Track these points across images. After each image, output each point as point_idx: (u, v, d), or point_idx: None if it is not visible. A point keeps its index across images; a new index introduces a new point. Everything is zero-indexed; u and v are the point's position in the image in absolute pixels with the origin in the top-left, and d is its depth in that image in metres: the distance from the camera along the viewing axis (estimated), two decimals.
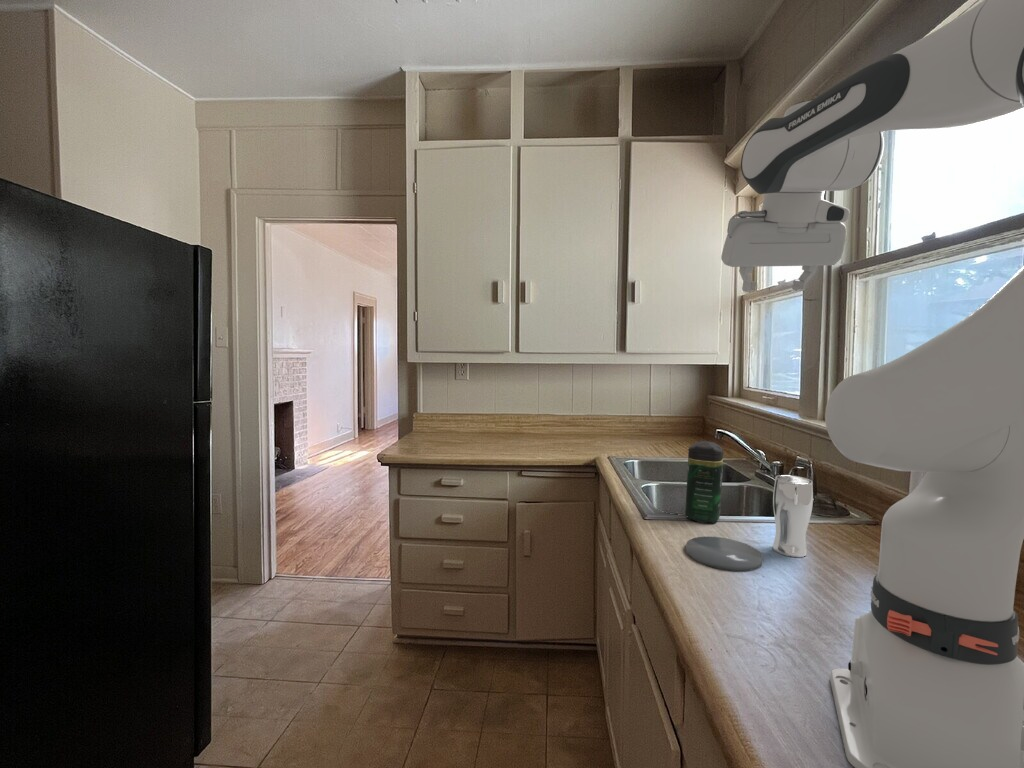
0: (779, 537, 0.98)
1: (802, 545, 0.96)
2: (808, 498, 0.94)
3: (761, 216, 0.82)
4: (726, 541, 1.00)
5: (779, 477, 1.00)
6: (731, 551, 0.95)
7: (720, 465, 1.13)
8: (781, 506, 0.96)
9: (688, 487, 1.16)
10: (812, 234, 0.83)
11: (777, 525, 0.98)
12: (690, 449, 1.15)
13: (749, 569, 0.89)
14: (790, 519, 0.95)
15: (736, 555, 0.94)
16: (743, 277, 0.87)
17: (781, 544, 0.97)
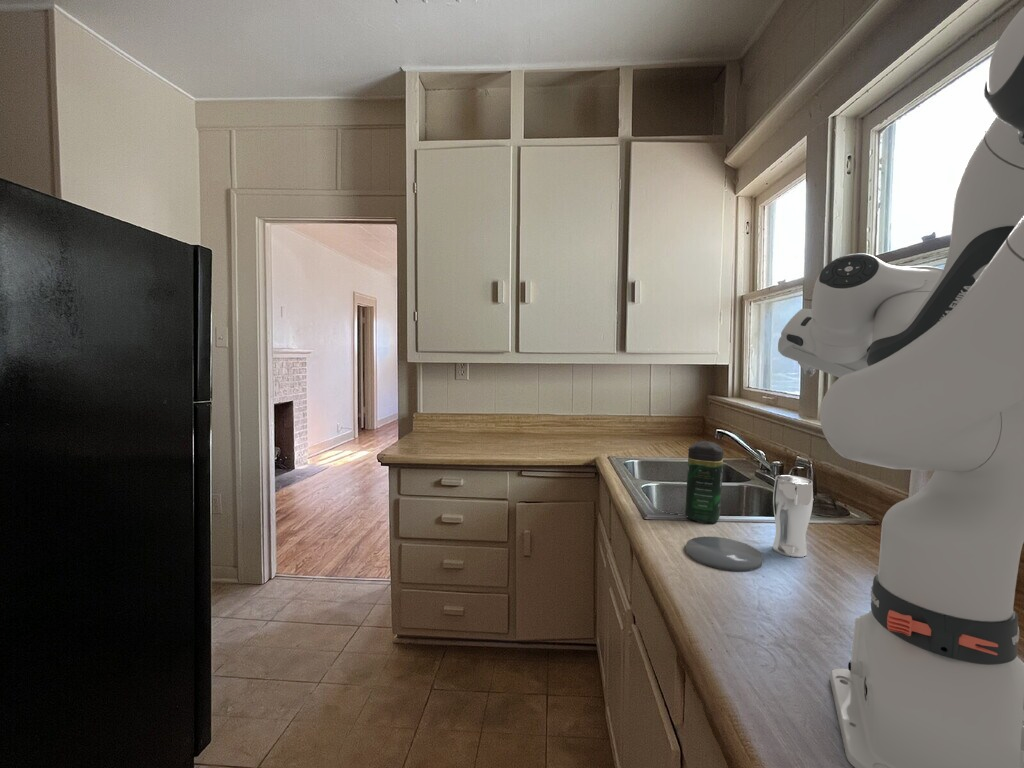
0: (779, 537, 0.98)
1: (802, 545, 0.96)
2: (808, 498, 0.94)
3: None
4: (726, 541, 1.00)
5: (779, 477, 1.00)
6: (731, 551, 0.95)
7: (720, 465, 1.13)
8: (781, 506, 0.96)
9: (688, 487, 1.16)
10: None
11: (777, 525, 0.98)
12: (690, 449, 1.15)
13: (749, 569, 0.89)
14: (790, 519, 0.95)
15: (736, 555, 0.94)
16: None
17: (781, 544, 0.97)
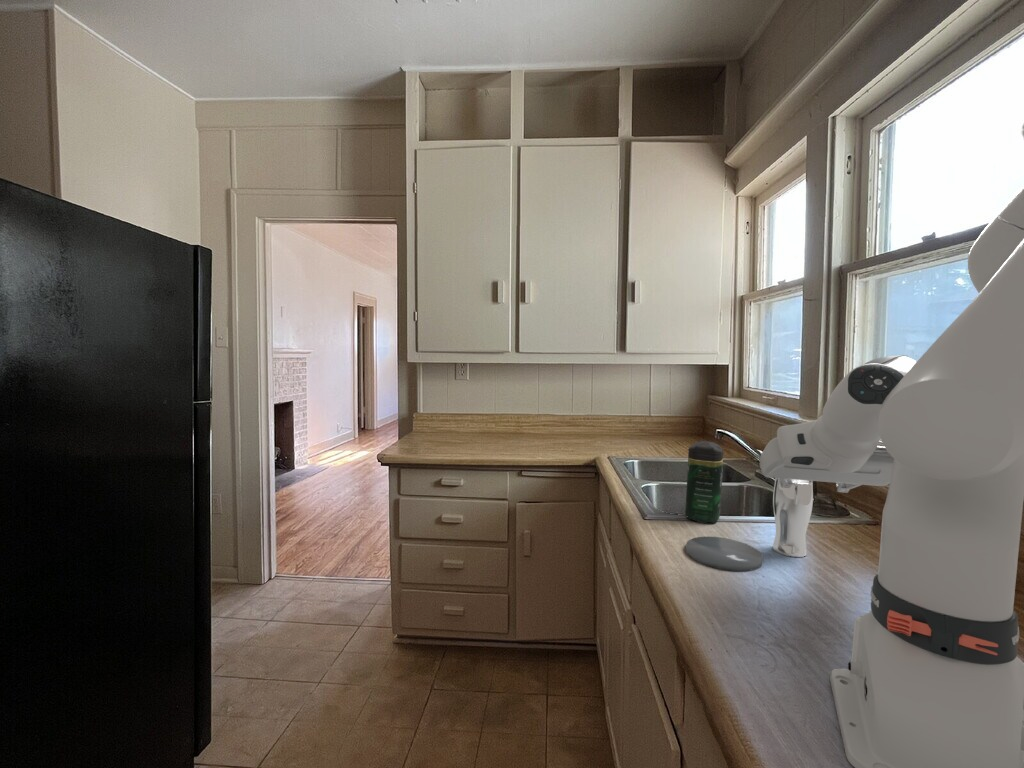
0: (779, 537, 0.98)
1: (802, 545, 0.96)
2: (808, 498, 0.94)
3: None
4: (726, 541, 1.00)
5: None
6: (731, 551, 0.95)
7: (720, 465, 1.13)
8: (781, 506, 0.96)
9: (688, 487, 1.16)
10: None
11: (777, 525, 0.98)
12: (690, 449, 1.15)
13: (749, 569, 0.89)
14: (790, 519, 0.95)
15: (736, 555, 0.94)
16: None
17: (781, 544, 0.97)
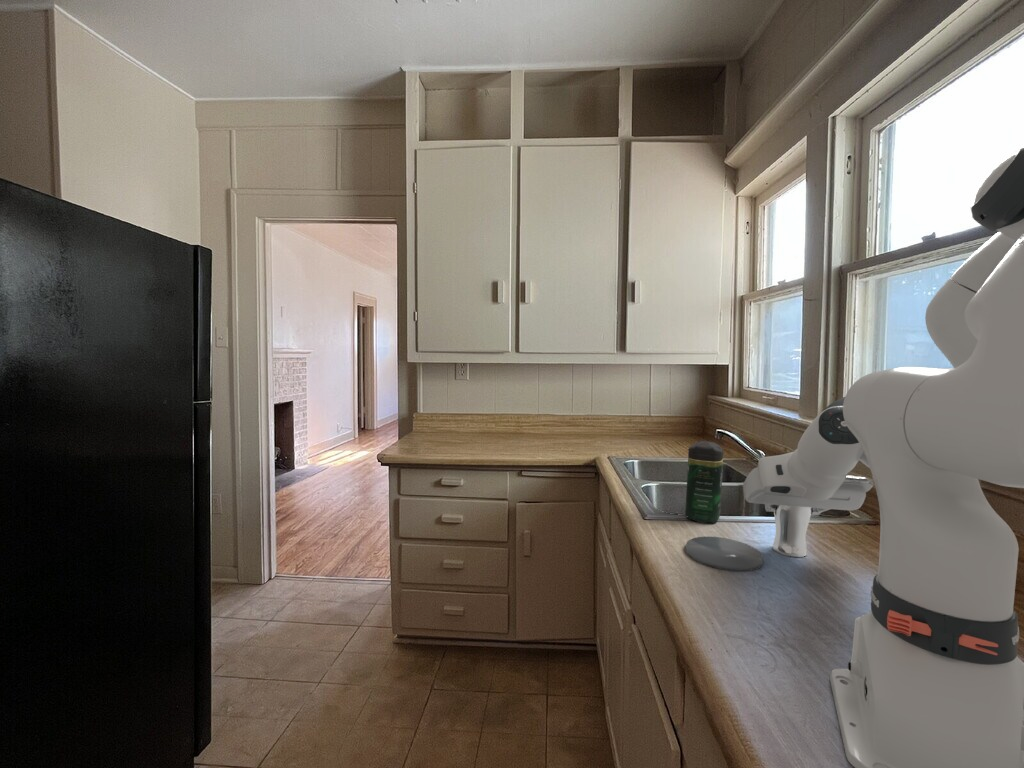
0: (779, 537, 0.98)
1: (802, 545, 0.96)
2: None
3: None
4: (726, 541, 1.00)
5: None
6: (731, 551, 0.95)
7: (720, 465, 1.13)
8: (781, 506, 0.96)
9: (688, 487, 1.16)
10: None
11: (777, 525, 0.98)
12: (690, 449, 1.15)
13: (749, 569, 0.89)
14: (790, 519, 0.95)
15: (736, 555, 0.94)
16: None
17: (781, 544, 0.97)
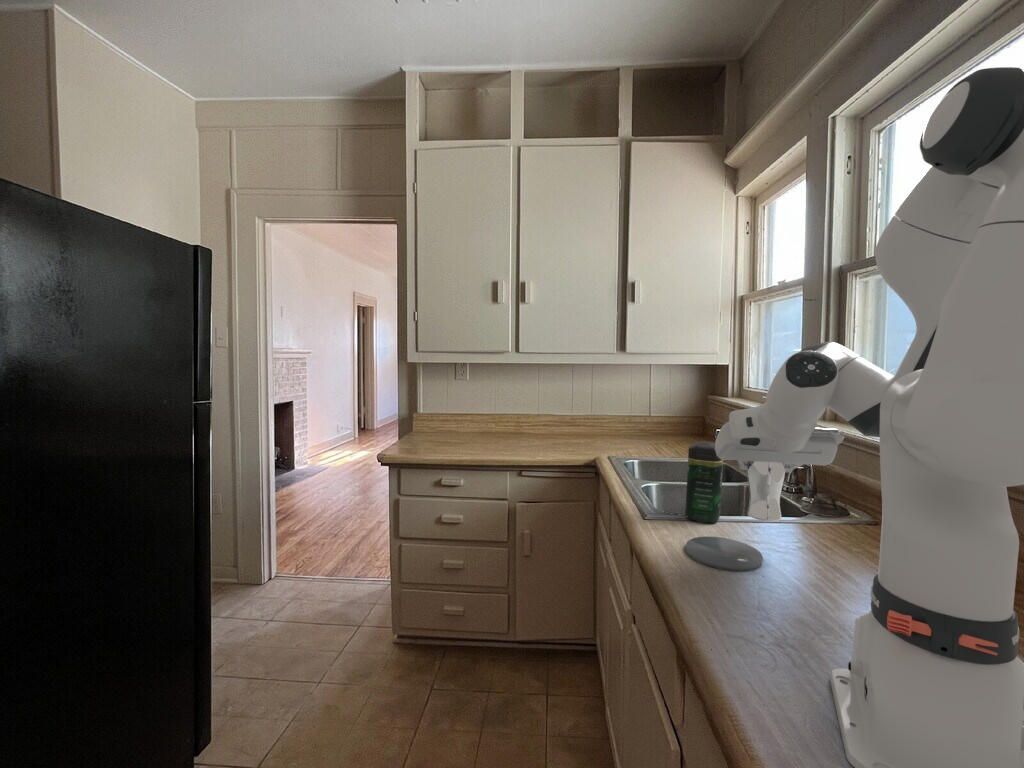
0: (752, 501, 0.95)
1: (775, 509, 0.93)
2: None
3: None
4: (726, 541, 1.00)
5: None
6: (731, 551, 0.95)
7: (720, 465, 1.13)
8: (753, 468, 0.95)
9: (688, 487, 1.16)
10: None
11: (750, 489, 0.96)
12: (690, 449, 1.15)
13: (749, 569, 0.89)
14: (762, 481, 0.94)
15: (736, 555, 0.94)
16: None
17: (754, 508, 0.95)
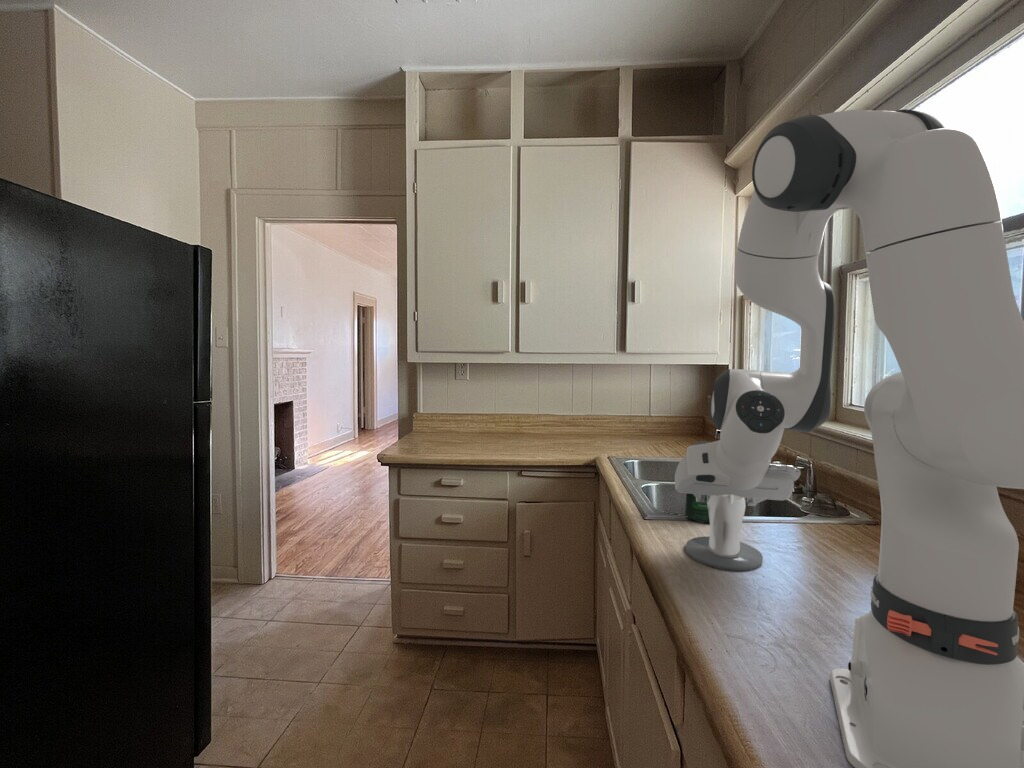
0: (712, 537, 0.94)
1: (735, 545, 0.92)
2: (739, 497, 0.90)
3: None
4: None
5: None
6: None
7: None
8: (712, 506, 0.93)
9: None
10: None
11: (710, 525, 0.95)
12: None
13: (749, 569, 0.89)
14: (721, 519, 0.92)
15: None
16: None
17: (714, 544, 0.94)
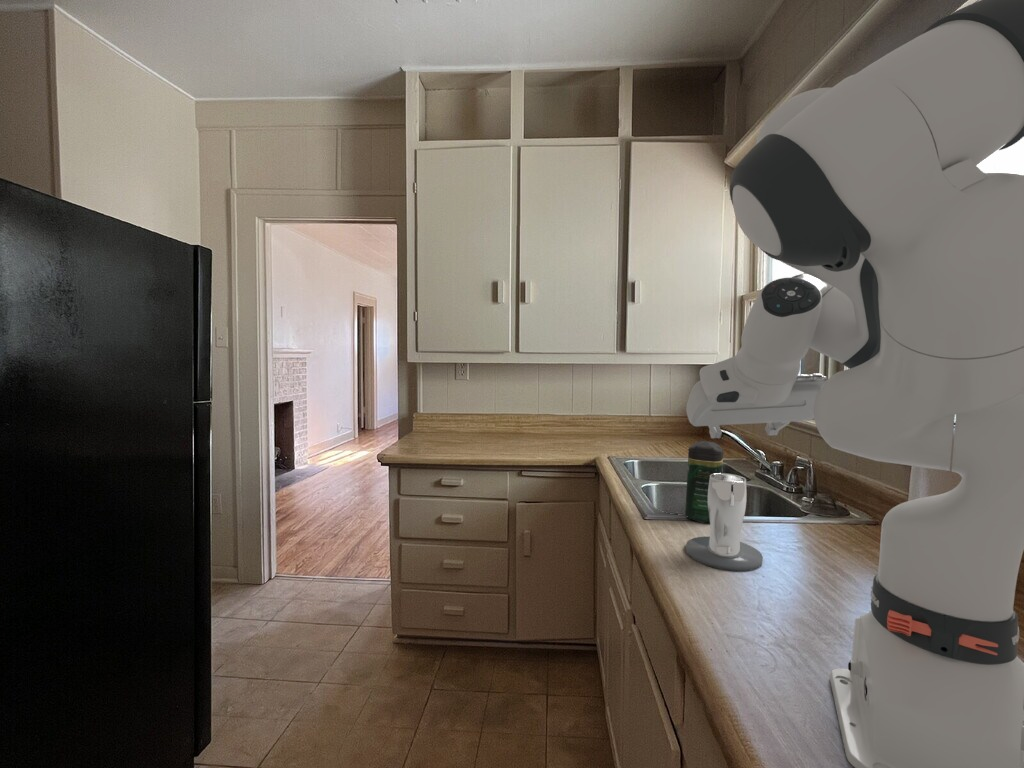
0: (712, 537, 0.94)
1: (735, 546, 0.92)
2: (740, 497, 0.91)
3: None
4: None
5: (715, 475, 0.97)
6: None
7: (720, 465, 1.13)
8: (713, 505, 0.93)
9: (688, 487, 1.16)
10: None
11: (711, 525, 0.95)
12: (690, 449, 1.15)
13: (749, 569, 0.89)
14: (722, 518, 0.92)
15: None
16: None
17: (714, 544, 0.94)
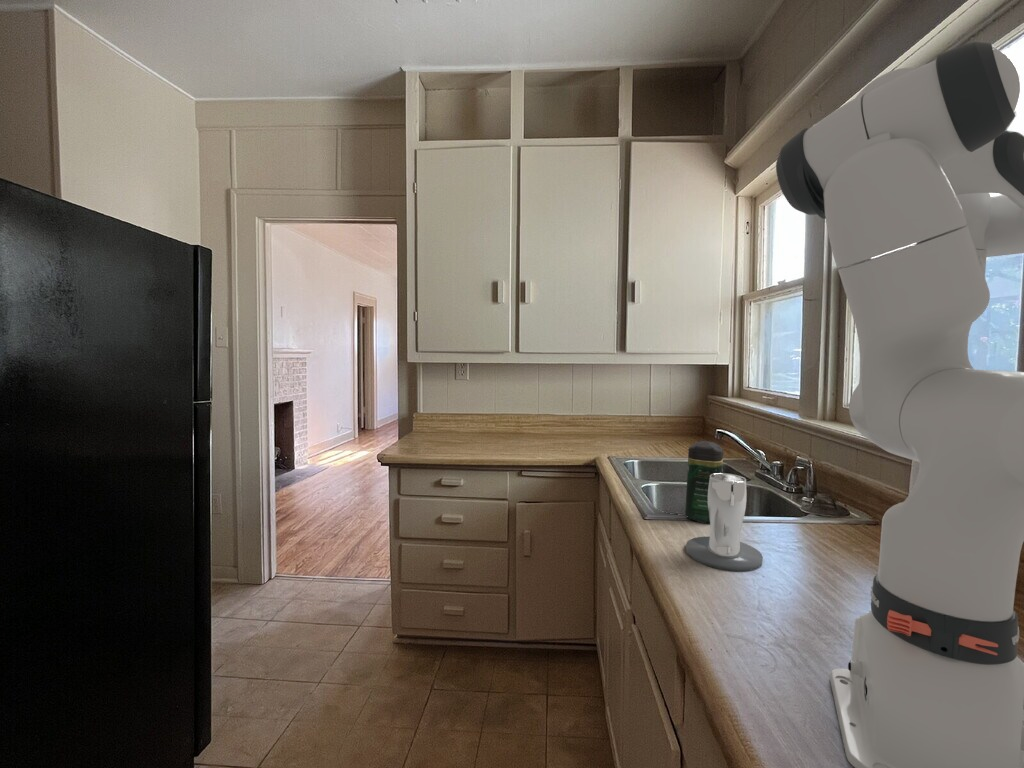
0: (712, 537, 0.94)
1: (735, 546, 0.92)
2: (740, 497, 0.91)
3: None
4: None
5: (715, 475, 0.97)
6: None
7: (720, 465, 1.13)
8: (713, 505, 0.93)
9: (688, 487, 1.16)
10: None
11: (711, 525, 0.95)
12: (690, 449, 1.15)
13: (749, 569, 0.89)
14: (722, 518, 0.92)
15: None
16: None
17: (714, 544, 0.94)
